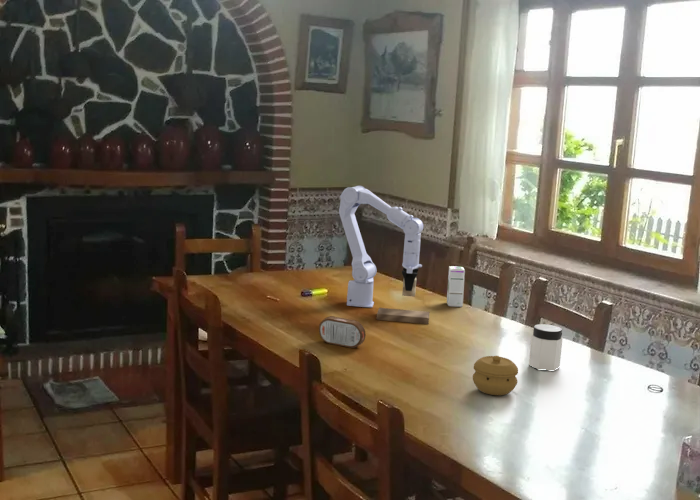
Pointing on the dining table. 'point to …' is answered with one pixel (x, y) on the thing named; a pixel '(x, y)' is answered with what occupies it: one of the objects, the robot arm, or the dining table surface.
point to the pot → (495, 375)
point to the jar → (546, 347)
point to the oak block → (409, 293)
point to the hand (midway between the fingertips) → (408, 289)
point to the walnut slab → (403, 315)
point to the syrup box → (455, 286)
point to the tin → (342, 332)
